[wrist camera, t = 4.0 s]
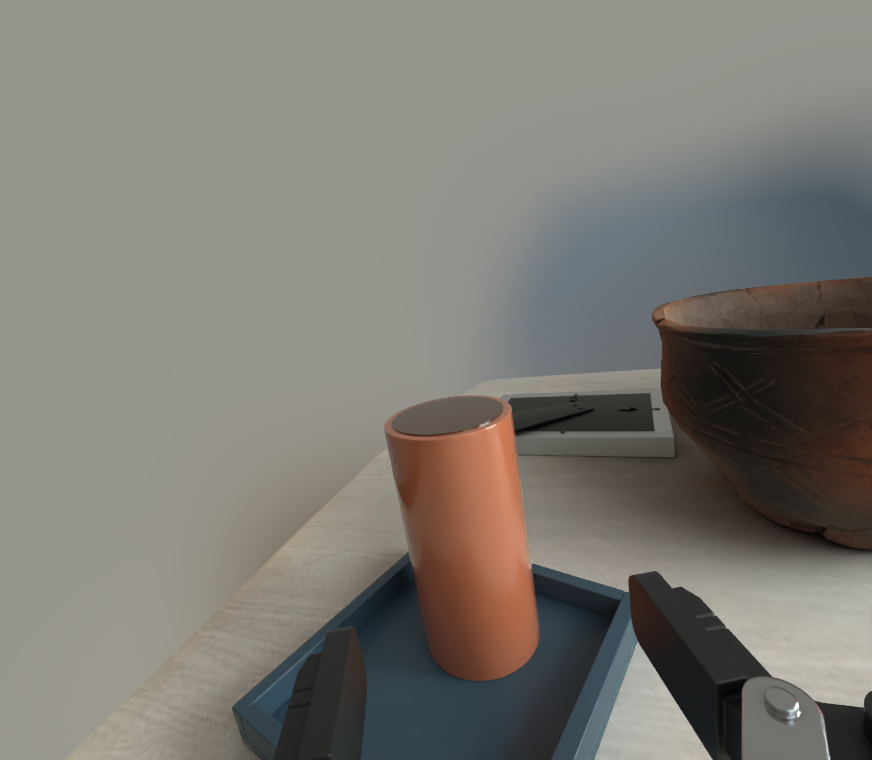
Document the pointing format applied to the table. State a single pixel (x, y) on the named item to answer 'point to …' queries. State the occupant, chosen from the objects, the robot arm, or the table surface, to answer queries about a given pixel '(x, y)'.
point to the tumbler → (466, 533)
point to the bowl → (780, 397)
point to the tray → (463, 699)
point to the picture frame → (593, 423)
